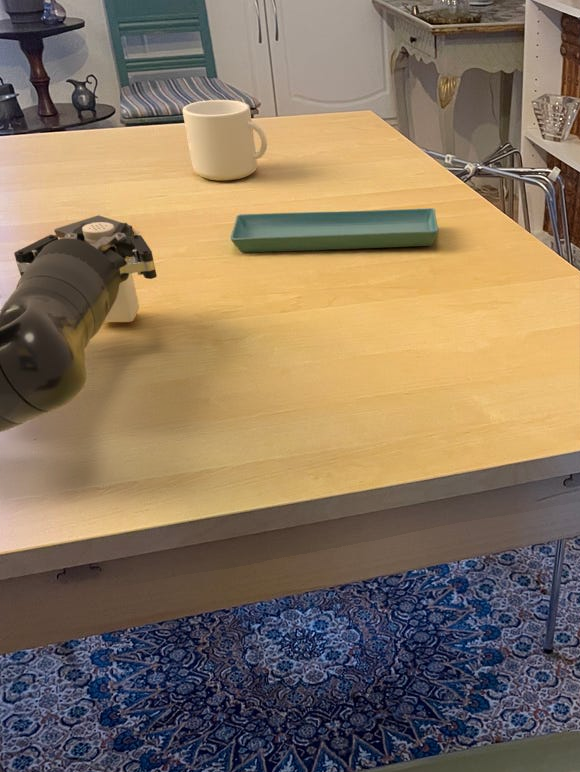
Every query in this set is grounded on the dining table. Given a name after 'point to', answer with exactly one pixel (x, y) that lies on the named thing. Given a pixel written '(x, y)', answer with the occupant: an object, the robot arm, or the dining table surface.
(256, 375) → the dining table surface
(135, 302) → the salt shaker
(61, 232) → the coaster
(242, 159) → the mug
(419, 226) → the rectangular tray
